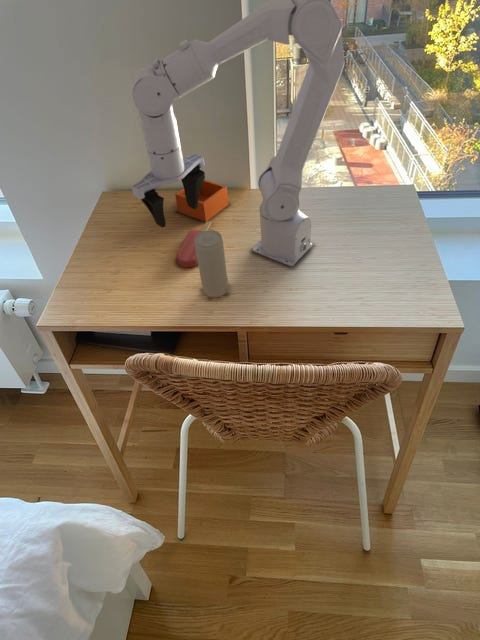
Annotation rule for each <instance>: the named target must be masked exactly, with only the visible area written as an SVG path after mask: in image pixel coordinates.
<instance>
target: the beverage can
mask: <svg viewBox="0 0 480 640" xmlns="http://www.w3.org/2000/svg"><path fill="white" fill-rule="evenodd" d="M195 248H196V254H197V260H198V264H197V265H198V270H199V277H200V282H201V283H200V284H201V287H202V292H203V294H204V295H206V296H207V297H210V298H220V297H223V296H224V295H225V294H226V293H227V292H228V291H229V280H228V272H227V264H226V257H225V256H226V255H225V248H224V240H223V237H222V233H220V232H219V231H217V230H214V229H211V230H210V229H208V230H207V231H203V232H200V233H199V234H198V235H197V236H196V237H195Z"/></svg>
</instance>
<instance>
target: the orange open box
mask: <svg viewBox="0 0 480 640" xmlns="http://www.w3.org/2000/svg"><path fill="white" fill-rule="evenodd" d="M174 195H175V202H176V206H177V210H178V212H179V213H180V214H183V215H186V216H188V217H192V218H194V219H197V220H199V221H202V222H204V223H206V222H207V221H210V220H211V219H212V218H213V217H215V216H216V215H217V214H218V213H220V212H221V211H223V209H225V208H226V207H227V206H229V195H228V186H226V185H223V184H220V183H217V182H214V181H210V180H209V179H208V180H207V179H206V178H205V179H204V181H203V183H202V186H201V189H200V193H199V199H198V207H197V209H193V208H191V207H189V206H188V204H187V201H186V196H185V190H184V187H183V188H182V189H180V190H179V191H177V192H176V193H174Z"/></svg>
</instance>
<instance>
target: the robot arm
mask: <svg viewBox="0 0 480 640" xmlns="http://www.w3.org/2000/svg"><path fill="white" fill-rule="evenodd" d="M342 29H343V22H342V20H341V18H340V17H339V15H338V12H337V11H336V8H335V7H334V6H333V3H332V2H330V1H329V0H268V1H267V2H266V3H264V4H263V5H261V6H260V7H258V8H256V9H255V10H254V11H252V12H251V13H249V14H247V16H244V17H243V18H242V19H241V20H239V21H238V22H236V23H235V24H233V25H231V26H230V27H228V28H227V29H226V30H224V31H222V32H221V33H220V34H217V36H216V37H214V38H213V39H211V40H209V41H208V42H207V41H203V40H200V39H193V40H191V41H190V42H189V41H188V40H187V39H184V40H183V41H181V42H180V43H179V49H177V50H175V51H174V52H172V53H171V54H168V55H167V56H165V57H164V58H163V59H160V60H159V58H156V59H154V60H153V61H152V63H151V65H145V66H143V67H141V68H140V69H139V70H138V71H137V72H136V74H135V76H134V81H133V87H132V100H133V104H134V105H135V107H136V108H137V110H138V114H139V117H140V126H141V131H142V135H143V139H144V144H145V148H146V153H147V158H148V162H149V166H150V171H149V172H148V173H147V174H146V175H144V176H143V177H142V178H140V180H138V181H137V182H135V183H134V184H133V185H131V187H130V188H131V191H132V195H133V197H135V198H136V199H137V200H140V201H141V203H143V204H144V206H145V207H146V208H147V209H148V211H149V213H150V214H151V216H152V217H153V220H154V222H155V225H157V226H158V227H160V228H162V229H163V228H166V227H167V222H166V216H165V213H164V201H165V198H164V197H162V196H161V195H159V193H158V191H156V190H158V189H160V188H162V187H163V186H167V185H171V184H174V183H178V182H180V181H181V183H182V187H183V188H184V190H185V196H186V201H187V204H188V206H189V207H191V208H193V209H197V207H198V199H199V193H200V189H201V186H202V183H203V181H204V179H205V180H206V172H205V171H204V170H202V168H204V167H205V160H204V159H205V158H204V156H203V155H201V154H198V153H194V154H192V155H189V156H186V157H183V151H182V145H181V140H180V134H179V133H180V132H179V127H178V122H177V116H176V115H175V113H174V106H173V102H174V100H178V99H181V98H182V97H185V96H186V95H187V94H189V93H191V92H192V91H194V90H196V89H197V88H199V87H202V86H203V85H204V84H206V83H208V82H210V81H212V80H214V78H215V77H216V72H217V70H218V67H219V65H221V64H223V63H225V62H227V61H229V60H232V59H234V58H235V57H237V56H239V55H241V54H243V53H245V52H246V51H249V50H250V49H252V48H254V47H256V46H259V45H260V44H263V42H266V41H270V42H275V43H278V44H283V45H287V46H288V45H289V46H290V36H292V38H293V39H294V41H295V42H296V44H297V45H298V46H299V47H300V48H301V49H302V51H303V53H304V56H305V57H306V60H307V61H308V66H307V69H306V72H305V74H304V77H303V80H302V82H301V85H300V88H299V91H298V94H297V96H296V99H295V103H294V105H293V108H292V111H291V113H290V116H289V119H288V122H287V123H286V124H287V125H286V128H285V130H284V134H283V136H282V139H281V142H280V145H279V148H278V149H277V153H276V155H275V156H273V157H272V158H270V160H269V164H268V166H267V167H266V168H265V169H264V170H263V171H262V172H261V173H260V175H259V177H258V181H257V185H258V189H259V191H260V193H261V198H262V201H261V203H260V205H259V222H260V241H259V243H257V244H256V245H255V246H254V247H253V248H252V252H254V253H256V254H258V255H261V256H264V257H267V258H269V259H271V260H274V261H276V262H279V263H282V264H284V265H287V266H289V267H293V266H295V264H297V263H298V261H299V260H301V258H302V257H303V256H304V255H305V254H306V253H307V252H308V251H309V250H310V249H311V248H312V247H313V243H312V242H311V241H312V240H311V239H312V220H311V218H310V216H308V215H305V214H304V213H303V212H302V211H300V209H299V208H300V194H301V193H300V192H301V191H302V186H303V170H304V167H305V165H306V162H307V160H308V157H309V155H310V152H311V149H312V147H313V145H314V142H315V140H316V137H317V135H318V132H319V129H320V127H321V125H322V123H323V120H324V118H325V115H326V113H327V110H328V107H329V105H330V103H331V100H332V98H333V96H334V93H335V90H336V88H337V85H338V84H339V83H338V82H339V80H340V79H341V75H342V73H343V70H344V69H345V68H344V67H345V63H346V61H345V51H344V44H343V43H344V42H343V35H342Z"/></svg>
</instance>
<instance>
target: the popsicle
mask: <svg viewBox="0 0 480 640" xmlns="http://www.w3.org/2000/svg"><path fill="white" fill-rule="evenodd" d="M211 225H212V221H211V220H208V221H207V222H204V225H203V226H202V228H201V229H194V228H193V229H192V228H191V229H190V230H189V231H188V233H187V235H186V236H185V238H184V240H183V242H182V243H181V245H180V247H179V249H178V251H177V252H176V262H177V264H178V265H179V266H180V267H182V268H192V267H195V266H197V265H198V260H197V254H196V248H195V237H196V236H197V235H198V234H199V233H200V232H203V231H207V230H209V228H210V227H211Z"/></svg>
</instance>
